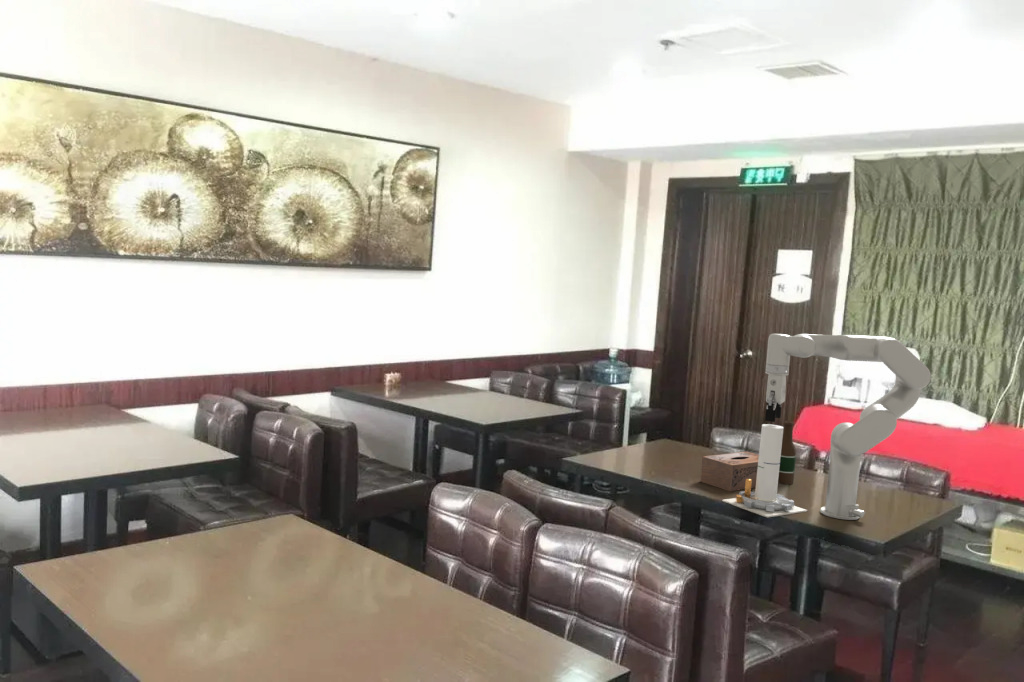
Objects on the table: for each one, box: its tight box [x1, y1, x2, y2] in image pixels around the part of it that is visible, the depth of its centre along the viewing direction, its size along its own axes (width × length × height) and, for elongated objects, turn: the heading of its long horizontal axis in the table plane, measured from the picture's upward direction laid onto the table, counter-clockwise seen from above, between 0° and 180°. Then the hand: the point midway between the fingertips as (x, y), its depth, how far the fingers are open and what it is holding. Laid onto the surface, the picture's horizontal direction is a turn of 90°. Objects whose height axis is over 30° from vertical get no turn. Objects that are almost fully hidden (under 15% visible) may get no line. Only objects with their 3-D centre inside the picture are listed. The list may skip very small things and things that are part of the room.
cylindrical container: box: [754, 423, 784, 500], centre depth 284 cm, size 7×7×25 cm
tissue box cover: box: [700, 451, 759, 492], centre depth 316 cm, size 26×14×10 cm, turn 125°
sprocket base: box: [722, 497, 808, 518], centre depth 285 cm, size 20×20×1 cm
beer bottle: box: [778, 420, 797, 485], centre depth 322 cm, size 8×8×24 cm
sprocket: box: [735, 479, 795, 512], centre depth 284 cm, size 19×19×8 cm
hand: (772, 419), depth 282 cm, fingers open, 9 cm apart
